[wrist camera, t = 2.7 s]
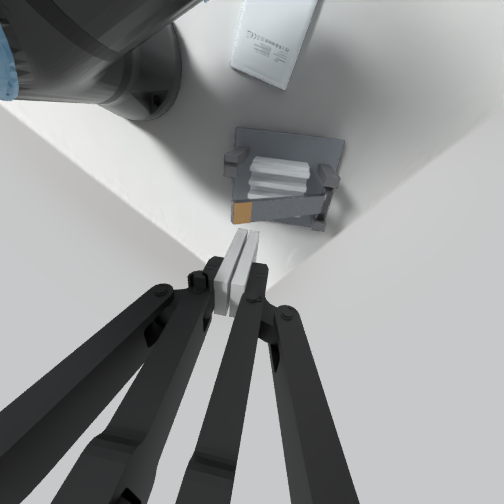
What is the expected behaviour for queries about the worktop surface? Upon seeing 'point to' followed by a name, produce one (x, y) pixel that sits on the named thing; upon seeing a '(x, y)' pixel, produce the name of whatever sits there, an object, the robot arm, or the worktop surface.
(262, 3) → the external hard drive
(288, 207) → the lever
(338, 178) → the heatsink base
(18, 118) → the worktop surface
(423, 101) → the worktop surface
